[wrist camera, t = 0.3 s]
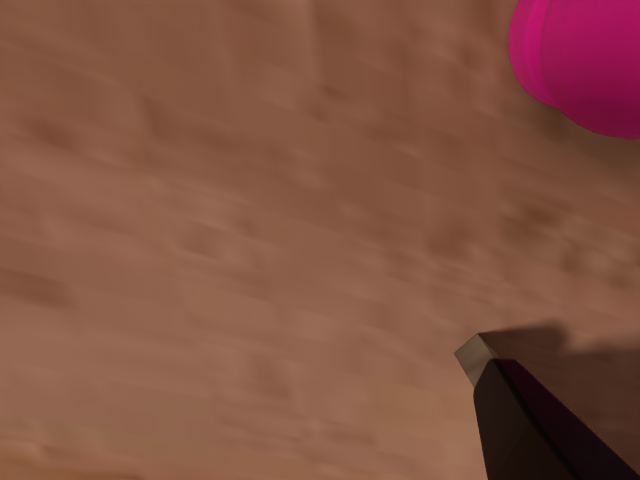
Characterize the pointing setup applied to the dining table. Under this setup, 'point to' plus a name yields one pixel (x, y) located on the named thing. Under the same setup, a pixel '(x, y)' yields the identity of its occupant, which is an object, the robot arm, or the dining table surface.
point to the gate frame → (474, 357)
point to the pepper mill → (581, 60)
